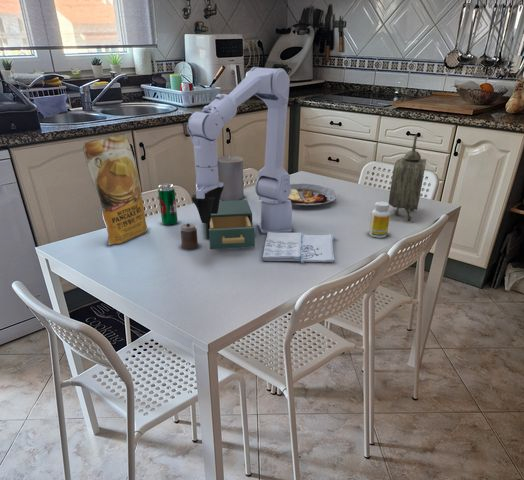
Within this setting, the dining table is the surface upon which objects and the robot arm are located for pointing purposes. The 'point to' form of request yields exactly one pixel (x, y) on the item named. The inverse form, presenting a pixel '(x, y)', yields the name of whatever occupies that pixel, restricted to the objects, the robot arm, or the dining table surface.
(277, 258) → the open sketchbook
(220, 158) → the pillar candle
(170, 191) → the soda can
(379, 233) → the supplement bottle
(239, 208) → the cabinet
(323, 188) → the food plate
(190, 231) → the pepper mill
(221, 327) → the dining table surface
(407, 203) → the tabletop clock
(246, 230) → the drawer
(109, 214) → the pancake mix bag
